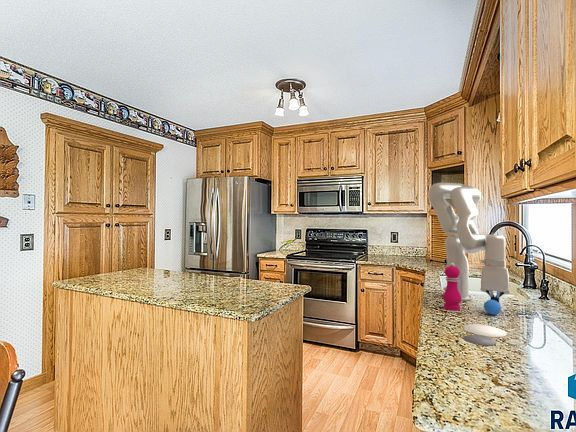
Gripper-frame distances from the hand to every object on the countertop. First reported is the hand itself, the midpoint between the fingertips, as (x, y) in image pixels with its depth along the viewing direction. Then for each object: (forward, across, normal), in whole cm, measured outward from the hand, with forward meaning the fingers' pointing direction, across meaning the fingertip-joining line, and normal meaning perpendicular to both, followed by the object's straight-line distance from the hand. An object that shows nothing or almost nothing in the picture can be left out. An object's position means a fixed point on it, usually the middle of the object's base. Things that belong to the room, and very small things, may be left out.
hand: (494, 306), depth 141 cm
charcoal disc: (+2, 0, -46) cm, 47 cm away
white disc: (+2, 0, -35) cm, 35 cm away
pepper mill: (+2, -15, -10) cm, 18 cm away
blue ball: (-2, 0, -10) cm, 10 cm away
